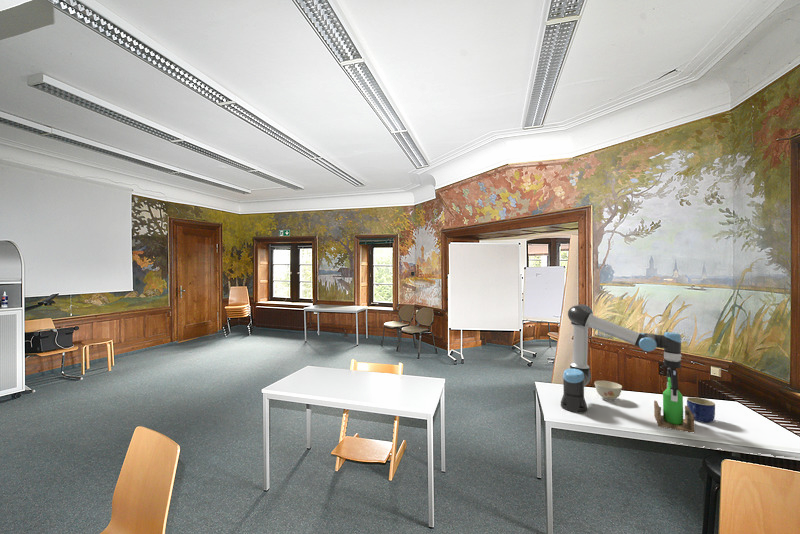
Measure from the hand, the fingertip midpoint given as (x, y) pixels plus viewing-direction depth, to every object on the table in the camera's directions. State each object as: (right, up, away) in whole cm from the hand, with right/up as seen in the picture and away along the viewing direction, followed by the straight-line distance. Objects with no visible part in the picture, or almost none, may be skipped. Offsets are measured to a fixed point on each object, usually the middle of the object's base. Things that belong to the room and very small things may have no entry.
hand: (672, 397), depth 189 cm
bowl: (-13, -16, +37) cm, 42 cm away
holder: (0, -15, -1) cm, 15 cm away
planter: (+21, -16, +5) cm, 27 cm away
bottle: (0, -14, 0) cm, 14 cm away
